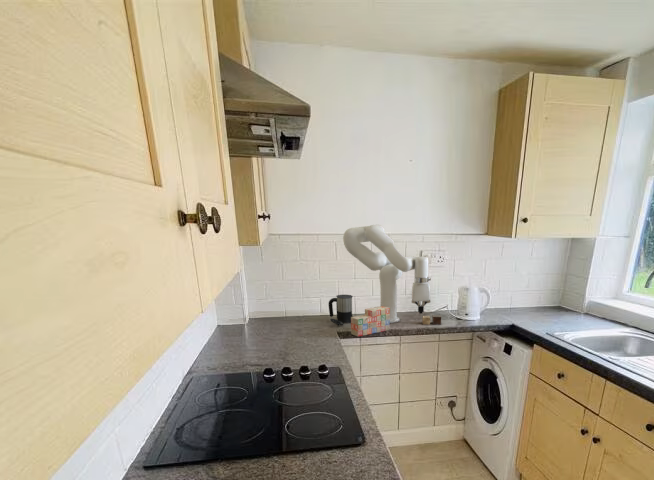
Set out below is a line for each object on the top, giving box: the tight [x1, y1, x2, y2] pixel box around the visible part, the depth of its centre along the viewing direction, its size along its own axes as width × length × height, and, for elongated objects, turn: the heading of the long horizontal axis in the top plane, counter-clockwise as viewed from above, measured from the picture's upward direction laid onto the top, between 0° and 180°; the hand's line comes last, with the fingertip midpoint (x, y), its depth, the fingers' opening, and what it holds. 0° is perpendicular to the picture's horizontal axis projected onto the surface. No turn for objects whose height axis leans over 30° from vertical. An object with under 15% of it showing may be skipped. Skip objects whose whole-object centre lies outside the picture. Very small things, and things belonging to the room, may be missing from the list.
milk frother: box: [328, 294, 353, 326], centre depth 232 cm, size 14×16×15 cm
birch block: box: [421, 315, 431, 325], centre depth 234 cm, size 4×4×4 cm
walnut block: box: [431, 314, 442, 326], centre depth 234 cm, size 4×4×4 cm
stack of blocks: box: [350, 305, 391, 337], centre depth 215 cm, size 21×6×12 cm, turn 130°
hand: (420, 313), depth 232 cm, fingers closed
